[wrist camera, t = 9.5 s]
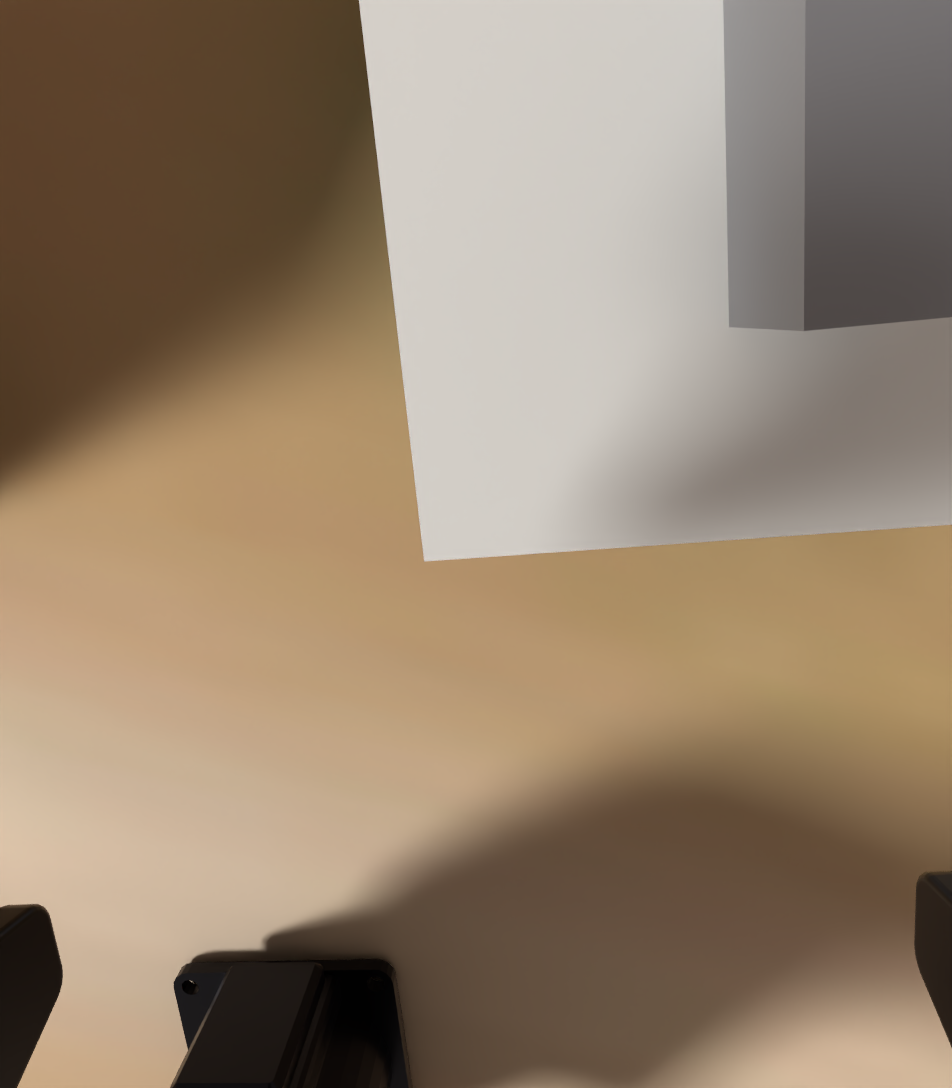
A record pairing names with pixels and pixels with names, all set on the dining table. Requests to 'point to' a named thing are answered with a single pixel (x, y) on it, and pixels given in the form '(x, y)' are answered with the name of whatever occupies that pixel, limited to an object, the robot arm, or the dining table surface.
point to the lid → (668, 266)
